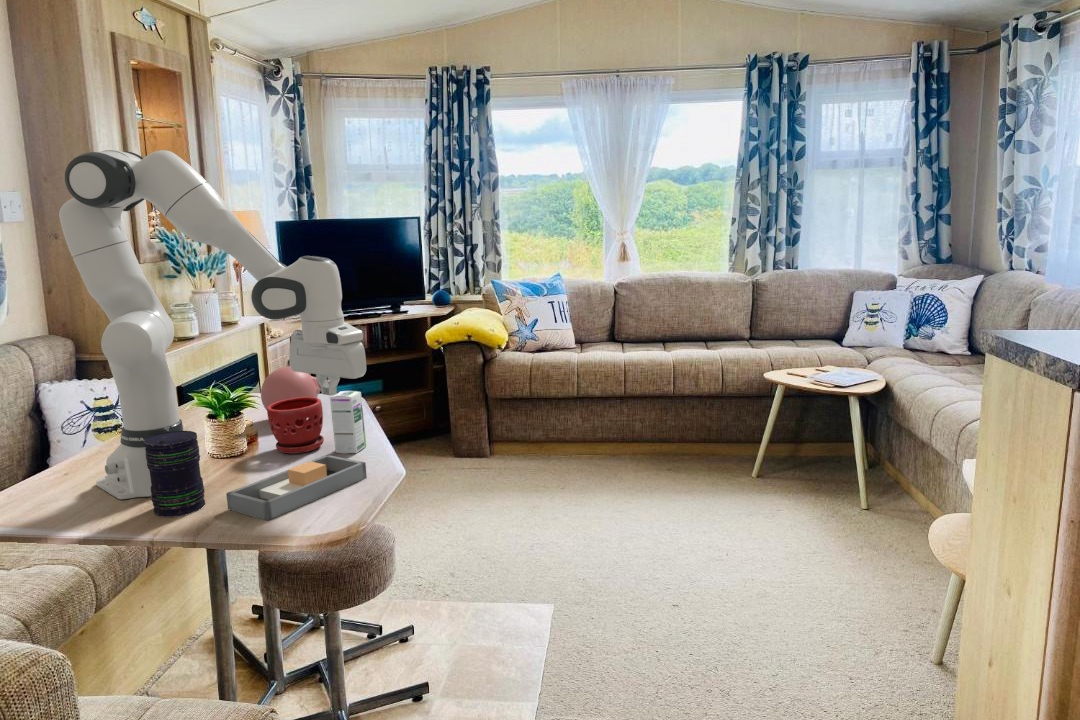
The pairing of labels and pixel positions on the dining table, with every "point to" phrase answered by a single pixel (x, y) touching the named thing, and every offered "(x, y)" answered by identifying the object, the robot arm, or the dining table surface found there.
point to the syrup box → (348, 422)
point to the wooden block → (307, 473)
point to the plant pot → (296, 424)
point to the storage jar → (175, 473)
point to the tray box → (294, 489)
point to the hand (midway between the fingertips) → (329, 394)
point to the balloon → (288, 386)
